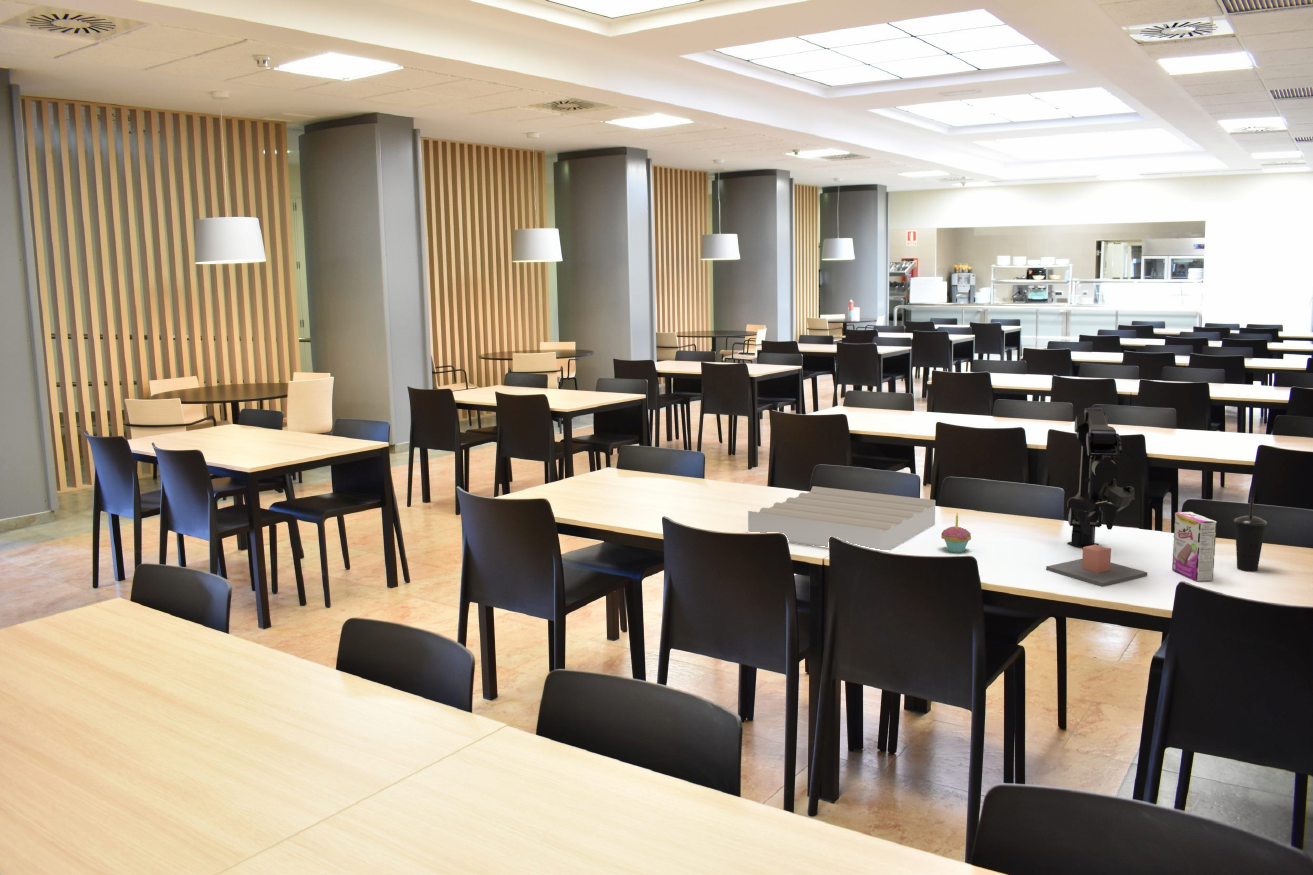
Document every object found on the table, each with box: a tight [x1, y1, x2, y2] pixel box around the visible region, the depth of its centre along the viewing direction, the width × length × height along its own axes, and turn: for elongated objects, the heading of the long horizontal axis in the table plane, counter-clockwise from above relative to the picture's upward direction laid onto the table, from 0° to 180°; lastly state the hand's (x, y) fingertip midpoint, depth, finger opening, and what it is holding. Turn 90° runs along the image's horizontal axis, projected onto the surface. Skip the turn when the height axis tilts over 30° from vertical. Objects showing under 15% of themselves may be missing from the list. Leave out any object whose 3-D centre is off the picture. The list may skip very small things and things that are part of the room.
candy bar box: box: [1171, 511, 1218, 583], centre depth 261 cm, size 11×5×16 cm, turn 5°
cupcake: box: [940, 512, 972, 553], centre depth 291 cm, size 9×8×12 cm
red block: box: [1081, 544, 1112, 573], centre depth 266 cm, size 5×5×6 cm
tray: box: [747, 486, 936, 551], centre depth 318 cm, size 45×45×9 cm
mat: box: [1045, 558, 1148, 587], centre depth 267 cm, size 18×18×1 cm
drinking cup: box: [1233, 497, 1268, 572], centre depth 266 cm, size 8×8×20 cm
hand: (1098, 531), depth 265 cm, fingers open, 9 cm apart
